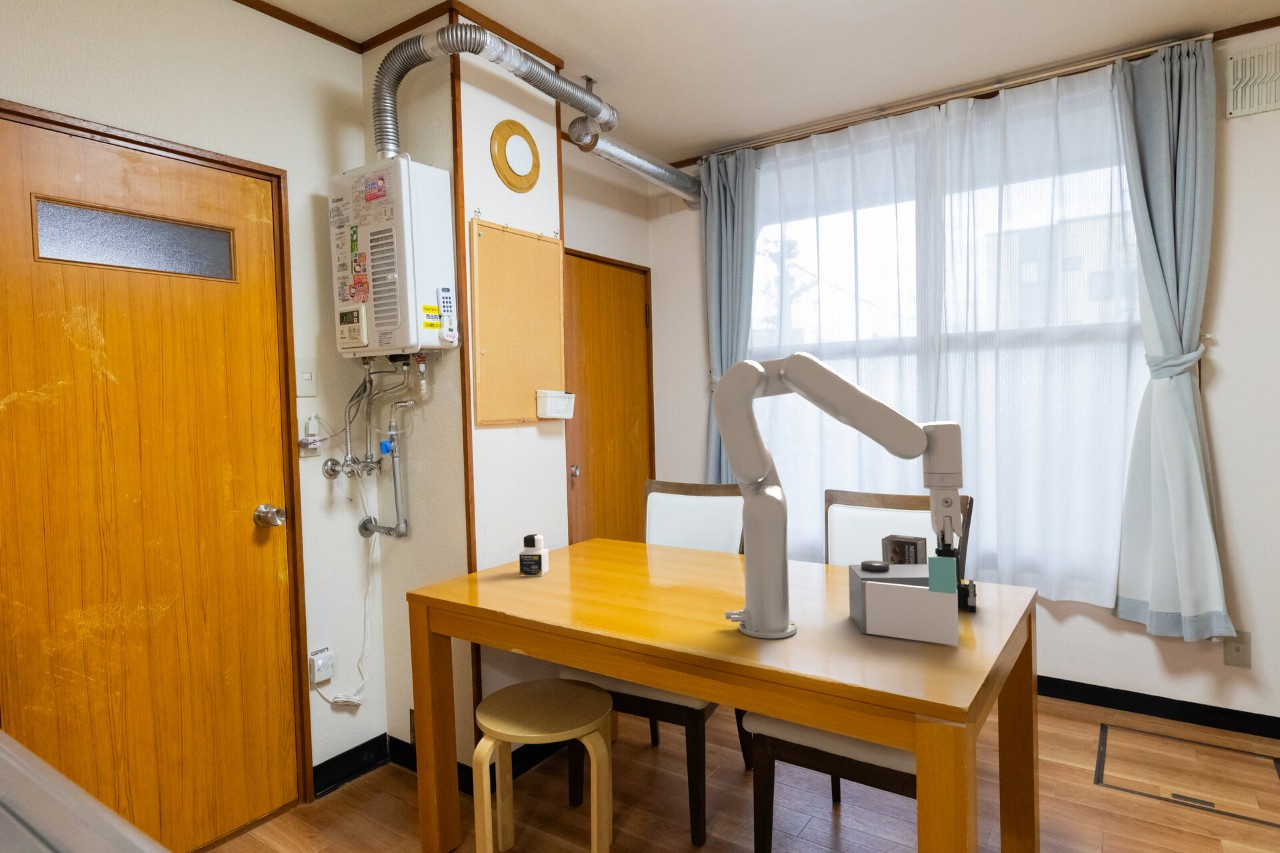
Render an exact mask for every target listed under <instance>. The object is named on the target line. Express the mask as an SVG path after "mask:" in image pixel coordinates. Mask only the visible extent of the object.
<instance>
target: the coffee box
mask: <svg viewBox="0 0 1280 853" xmlns="http://www.w3.org/2000/svg"><path fill="white" fill-rule="evenodd" d="M927 548H928V547H927V537H920V536H911V535H910V536H909V535H901V534H900V535H898V534H890V535H887V536H884V537H883V538H881V551H882V552H881V553H882V562H887V563H889V565H903V564H928V554H927Z"/></svg>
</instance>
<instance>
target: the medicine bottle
mask: <svg viewBox="0 0 1280 853" xmlns="http://www.w3.org/2000/svg"><path fill="white" fill-rule="evenodd" d="M544 547H545V546H544V536H543V535H541V534H537V533H536V534H527V535H525V536H524V537H523V550H522V551H521V552H519V558H518V559H519V576H520V575H527V576H526V577H543V576H545V575H546V574H547V573H548V572H549V571H550V570H549V568H550V567H549V565H550V564H549V562H550V561H549V549H548V548H544ZM546 572H547V573H546ZM542 575H543V576H542Z"/></svg>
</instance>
